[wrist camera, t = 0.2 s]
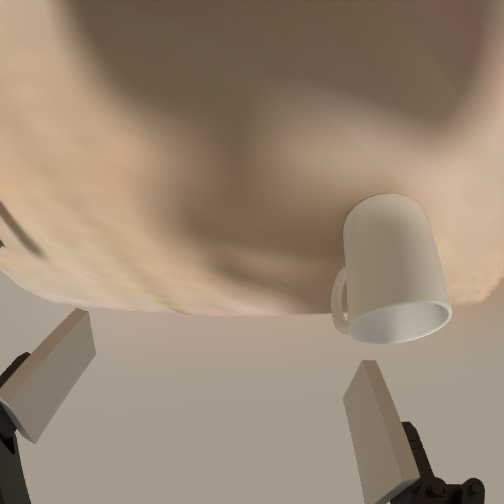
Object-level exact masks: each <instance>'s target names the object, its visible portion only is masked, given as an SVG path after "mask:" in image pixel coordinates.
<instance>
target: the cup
mask: <svg viewBox="0 0 504 504" xmlns="http://www.w3.org/2000/svg"><path fill="white" fill-rule="evenodd" d="M343 240H344V253H345V265H344V266H343V267H342V269H341V270H340V271H339V273H338V275H337V276H336V279H335V281H334V284H333V288H332V296H331V309H332V317H333V321H334V324H335V326H336V328H337V330H338V331H340V332H341V333H343V334H350V335H351V336H352V337H353V338H355V339H356V340H359V341H362V342H367V343H373V344H391V343H400V342H406V341H411V340H414V339H418V338H421V337H424V336H427V335H429V334H431V333H433V332H435V331H437V330H439V329H440V328H442V327H443V326H444V325H445V324H446V323H447V322H448V321H449V320H450V318H451V315H452V310H451V304H450V299H449V294H448V290H447V285H446V281H445V276H444V272H443V268H442V265H441V261H440V257H439V253H438V250H437V246H436V243H435V240H434V236H433V233H432V230H431V227H430V224H429V221H428V218H427V216H426V214H425V212H424V210H423V208H422V207H421V206H420V205H419V204H418V203H417V202H416V201H415V200H413V199H412V198H410V197H407V196H405V195H401V194H396V193H385V194H379V195H375V196H372V197H369V198H367V199H365V200H363V201H362V202H360V203H359V204H357V205H356V206H355V207H354V208H353V209H352V210H351V211H350V213H349V214H348V216H347V218H346V220H345V223H344V228H343ZM345 282H346V284H347V308H348V321H345V318H344V315H343V310H342V292H343V287H344V285H345Z"/></svg>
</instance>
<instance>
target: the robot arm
mask: <svg viewBox="0 0 504 504" xmlns="http://www.w3.org/2000/svg"><path fill="white" fill-rule="evenodd" d="M95 355H96V350H95V345H94V340H93V335H92V329H91V324H90V317H89V312H88V311H85V310H82V309H79V308H76V309H75V310H74V311H73V312H72V313H71V314H70V315H69V316H68V317H67V318H66V319H65V320H64V321H63V322H62V323H61V324H60V325H59V326H58V327H57V328H56V329H55V330H54V331H53V332H52V333H51V334H50V335H49V336H48V337H47V338H46V339H45V340H44V341H43V342H42V343H41V344H40V345H39V346H38V347H37V348H36V349H35V350H34V351H33V352H32V353H31V354H30V353H28V352H26V353H24V354H22V355H20V356H18V357H17V358H16V359H15V360H14V362H12V364H11V365H10V366H9V367H8V368H7V369H6V371H4V372H3V373H2V375H1V376H0V504H31V501H30V498H29V494H28V491H27V487H26V484H25V479H24V475H23V471H22V466H21V461H20V456H19V450H18V444H17V438H16V435H15V433H14V432H15V431H16V429H18V431H19V432H20V433H21V435H22V436H23V437H25V438H26V439H28V440H29V441H31V442H32V443H34V444H36V442H37V441H38V439H39V437H40V436H41V434H42V433H43V431H44V429H45V428H46V426H47V425H48V423H49V422H50V420H51V419H52V417H53V416H54V414H55V413H56V411H57V409H58V408H59V406H60V405H61V403H62V402H63V401H64V399H65V398H66V396H67V395H68V393H69V392H70V390H71V388H72V387H73V386H74V384H75V383H76V381H77V380H78V379H79V377H80V376H81V375H82V373H83V372H84V370H85V369H86V367H87V366H88V365H89V363H90V362H91V361H92V359H93V358H94V356H95ZM343 401H344V406H345V410H346V415H347V419H348V423H349V428H350V432H351V437H352V441H353V446H354V451H355V455H356V460H357V465H358V470H359V475H360V481H361V486H362V491H363V497H364V502H365V504H386V503H388V502H389V501H390V504H484V498H485V489H484V485H483V483H482V482H481V481H480V480H479V479H477V478H470V479H468V480H467V481H466V482H464V483H463V484H462V485H461V484H460V485H459V484H446V483H445V482H444V481H443V480H442V479H440V478H437V477H435V476H434V474H433V472H432V469H431V466H430V464H429V461H428V458H427V455H426V453H425V450H424V448H423V445H422V442H421V441H420V437H419V435H418V432H417V430H416V428H415V427H414V426H413V425H412V424H411V423H410V422H401V420H400V418H399V415H398V413H397V410H396V407H395V405H394V402H393V400H392V397H391V395H390V392H389V390H388V388H387V385H386V383H385V380H384V378H383V376H382V373H381V371H380V369H379V366H378V364H377V362H376V361H375V360H362V361H361V364H360V365H359V368H358V370H357V371H356V374H355V376H354V378H353V379H352V381H351V383H350V385H349V387H348V389H347V391H346V393H345V395H344V397H343Z"/></svg>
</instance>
